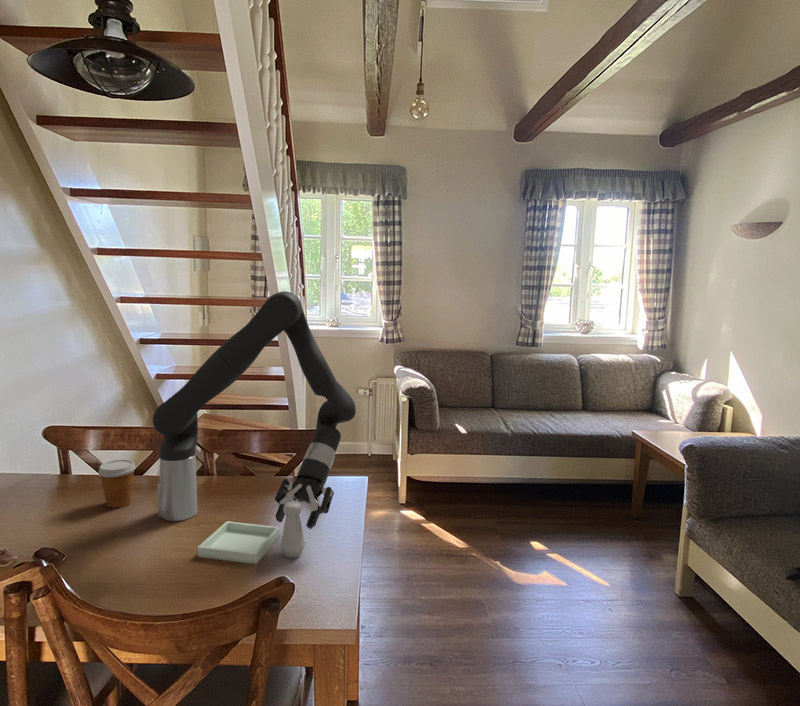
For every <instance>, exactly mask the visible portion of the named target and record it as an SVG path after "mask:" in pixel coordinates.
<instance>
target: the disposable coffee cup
mask: <svg viewBox="0 0 800 706" xmlns="http://www.w3.org/2000/svg"><path fill="white" fill-rule="evenodd" d="M135 469H136V465H135V463H134V461H132V460H130V459H113V460H109V461H105V462H103V463H102V464H101V465H99V469H98V471H97V472H98V474H99V476H100V480H101V485H102V491H103V495H104V499H105V504H106V507H107V506H108V507H107V508H109V507H113V508H112V509H116V508H115V507H120V508H124V507H127V506H128V504H129V505H130V504H131V502H132V493H133V481H134V472H135ZM126 505H127V506H126ZM123 506H124V507H123Z"/></svg>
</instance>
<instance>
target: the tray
mask: <svg viewBox="0 0 800 706" xmlns="http://www.w3.org/2000/svg"><path fill="white" fill-rule="evenodd" d="M280 537H281V527H280V526H273V525H263V524H255V523H254V524H253V523H247V522H246V523H245V522H238V521H237V522H236V521H228V520H226V522H224V523H223V524H222V525H221V526H220V527H218V529H216V530H215V531H214V532H213V533H211V535H209V536H208V537H207V538H206V539H204V541H203V542H202V543H200V544H199V545H198V546H197V557H198V558H206V559H210V560H211V559H213V560H218V559H219V560H220V561H226V560H227V561H226V562H233V563H235V562H236V563H240V564H241V563H242V564H250V565H257V564H258V563H259V562H260V561H261V560H262V558H263V557H264V556H265V555H266V553H268V551H269V550H271V548H272V547H273V546H274V544H275V543H276V542H277V541H278V540H279V539H280Z"/></svg>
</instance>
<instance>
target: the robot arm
mask: <svg viewBox="0 0 800 706" xmlns="http://www.w3.org/2000/svg"><path fill="white" fill-rule="evenodd" d="M283 331H284V333H285V334H286V336H287V338H288V340H289V341H290V343H291V345H292V348H293V350H294V352H295V356H296V357H297V361H298V363H299V364H298V365H299V366H300V369H301V371H302V374H303V376H304V377H305V379H306V380H307V383H308V385H309V387H310V388H311V390H312V392H313V393H314V395H316V396H319V397H323V398H325V399H326V400H325V401H324V402H323V403H322V404H321V406H320V407H319V410H318V413H317V420H316V428H315V429H316V430H315V432H314V435H313V438H312V440H311V442H310V444H309V446H308V448H307V450H306V452H305V455H304V457H303V460H302V462H301V465H300V467H299V469H298V472H297V475H296V479H295V480H294V481H289V480H288V479H287V478H285V479H283V480H282V482H281V484H280V487H279V488H278V490H277V493H276V495H275V496H274V501H275V502H276V503H277V504H278V505H279V506H278V508H277V511H276V513H275V520H276V522H278V523H283V522H284V517H286V515H285V514H284V511H283V507H284V505H285V504H286V503H287V502H291V501H296V502H299V503H300V502H305V503H307V504H310V503H311V508H312V510H311V511H310V515H309V517H308V519H307V522H306V527H307V529H310V530H312V529H313V528H315V526H316V525H317V521H318V519H319V516H320V515H321V514H328V513H329V512H330V508H331V504H332V500H333V496H334V494H335V492H334V490H333V488H332V487H330V486H327V487H324V486H325V485H326V483H327V479H328V478H329V474H330V472H331V469H332V467H333V463H334V461H335V457H336V456H335V455H336V452H337V450H338V447H339V445H340V443H341V438H342V435H341V432H340V430H338V428H337V426H338V424H342V423H346V422H350V421H352V420H353V419H354V418H355V416H356V413H357V410H356V409H357V408H356V404H355V402H354V399H353V398H352V397H351V395H350V393H349V392H347V391H346V389H345V388H344V387H343V386H342V385H341V384H340V383H339V382H338V381H337V379H336V377H335V375H334V373H333V371H332V369H331V368H330V366H329V363H328V362H327V360H326V358H325V357H324V355H323V353H322V351H321V349H320V347H319V346H318V343H317V342H316V340H315V338H314V335H313V334H312V330H311V329H310V327H309V324H308V320H307V318H306V315H305V312H304V309H303V306H302V303H301V300H300V299H299V297H298V296H297V295H296V294H294V293H292V292H290V291H285V290H284V291H279V292H276V293H274V294H272V295H270V296H269V297H268V298H267V300H266V301H265V302H264V303H263V304H262V305H261V307H260V308H259V309H258V311H256V313H255V315H253V317H252V318H251V319H250V321H249V322H247V324H246V325H245V326H243V327H242V328H241V329H240V330H239V331H237V332H236V333H234V334H233V335H232V336H230V338H228V339H227V340H225V342H224V343H222V344H221V346H220V347H218V348H217V349H216V350H215V351H214V352H213V353H212V354H211V355H210V356H209V357H208V358H207V360H205V361H204V363H203V364H202V365H201V366H200V367H199V368H198V369H197V371H195V372H194V374H193V375H192V376H191V378H190V379H189V380H188V381H187V382H186V383H185V384H184V385H183V386H182V387H181V388H180V389H179V390H177V392H175V393H174V394H173V395H171V396H170V397H168V399H167V400H165V401H164V402H163V403H161V404H160V405H159V406H158V407H157V408H156V409H155V411H154V414H153V417H152V425H153V428H154V429H155V431H156V432H157V433H158V434H161V435H163V440H162V441H161V444H160V446H159V449H158V451H159V452H158V453H159V470H160V471H159V473H160V474H159V475H160V482H159V483H157V486H156V487H157V507H158V517H159V518H162V519H163V520H165V521H171V522H179V521H185V520H188V519H190V518H193V517H194V516H196V515H197V514H198V492H197V491H198V490H197V461H196V460H197V459H196V447H197V445H198V438H199V437H198V433H199V432H198V426H199V425H198V423H199V421H198V420H199V419H198V412H199V411H200V410H201V409H202V408H203V407H204V406H205V405H206V404H207V403H209V402H210V401H211V400H213V399H214V398H216V397H217V396H218V395H220V394H221V393H222V392H224V391H225V390H226V389H228V388H229V387H230V386H231V385H233V383H234V382H236V381H237V380H238V379H239V378H240V377H241V376H242V375H244V374H245V372H246V371H247V370H248V369H249V368H250V367H251V365H253V363H254V362H255V361H256V359H257V358H258V356H259V355H260V354H261V353H262V351H263V349H265V347H266V346H268V344H269V343H270V342H271V341H273V339H275V338H276V337H277V336H279V335H280V334H281V333H282V332H283ZM291 489H292V490H291ZM290 490H291V491H290ZM321 495H323V499H322V501H321V504H320V501H319V497H320V496H321Z"/></svg>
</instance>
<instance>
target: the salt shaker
mask: <svg viewBox="0 0 800 706" xmlns="http://www.w3.org/2000/svg"><path fill="white" fill-rule="evenodd" d="M283 511H284V514H285V519H284V525H283V530H282V535H281V540H280V541H281V542H280V549H281V551H282V553H283V556H284V557H285V558H288V559H292V558H293V559H294V558H299V556H300V555H302V553H303V551H304V548H305V546H306V542H305V537H304V533H303V532H304V531H303V527H302V523H301V517H300V514H301V512H302V505H301V503H300V501H291V502H287V503H286V504H285V505H284V507H283Z"/></svg>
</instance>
